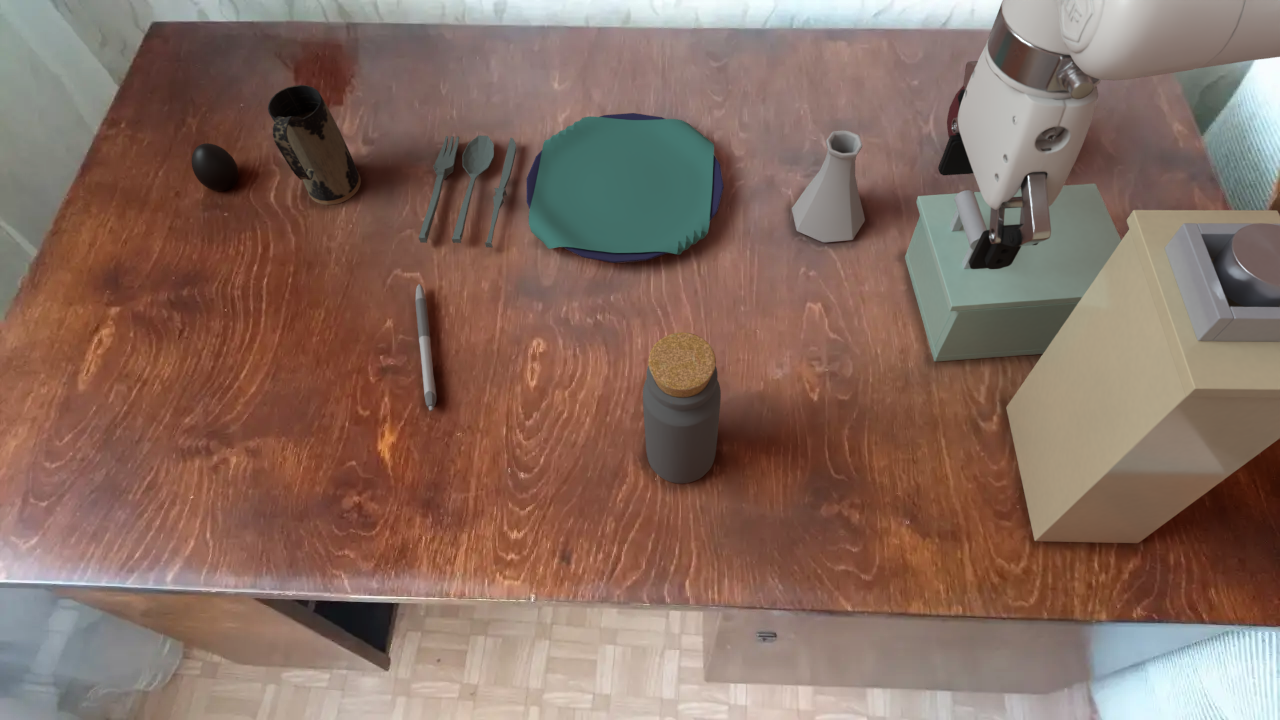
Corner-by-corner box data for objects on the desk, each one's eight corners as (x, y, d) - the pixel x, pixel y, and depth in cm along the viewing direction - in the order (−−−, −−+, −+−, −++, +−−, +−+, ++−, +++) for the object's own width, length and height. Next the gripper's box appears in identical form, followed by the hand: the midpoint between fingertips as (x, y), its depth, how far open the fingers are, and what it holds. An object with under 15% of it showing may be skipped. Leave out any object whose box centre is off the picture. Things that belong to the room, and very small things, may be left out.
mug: (314, 164, 92) (269, 73, 82) (365, 164, 92) (326, 73, 81) (297, 221, 88) (247, 133, 78) (350, 221, 88) (307, 133, 77)
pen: (428, 416, 76) (424, 409, 74) (416, 290, 83) (412, 281, 82) (439, 414, 76) (435, 406, 74) (426, 288, 83) (423, 279, 82)
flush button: (1279, 248, 49) (1303, 222, 47) (1308, 311, 47) (1334, 287, 45) (1200, 247, 50) (1221, 222, 48) (1224, 311, 47) (1247, 287, 45)
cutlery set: (718, 278, 82) (719, 263, 80) (411, 263, 84) (405, 248, 82) (726, 129, 92) (727, 113, 91) (452, 119, 95) (447, 102, 93)
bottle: (647, 420, 75) (641, 324, 62) (715, 422, 74) (723, 325, 61) (645, 483, 72) (638, 395, 59) (715, 485, 71) (724, 397, 58)
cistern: (1103, 405, 74) (1301, 183, 51) (1143, 547, 67) (1391, 368, 44) (1001, 403, 74) (1150, 183, 51) (1031, 545, 68) (1217, 366, 44)
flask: (785, 238, 85) (798, 165, 76) (796, 184, 88) (809, 108, 80) (860, 250, 83) (881, 178, 75) (868, 195, 87) (889, 120, 78)
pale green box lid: (949, 311, 70) (967, 274, 66) (915, 201, 76) (930, 161, 72) (1140, 298, 70) (1171, 259, 66) (1092, 189, 76) (1116, 147, 72)
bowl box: (933, 362, 77) (958, 311, 70) (904, 257, 83) (924, 201, 76) (1099, 350, 77) (1140, 298, 70) (1057, 246, 83) (1091, 189, 76)
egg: (201, 198, 90) (177, 163, 86) (207, 169, 92) (184, 134, 88) (240, 194, 90) (218, 159, 86) (246, 165, 92) (225, 130, 88)
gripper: (1162, 134, 50) (1051, 301, 65) (1068, -48, 59) (989, 135, 74) (1034, 143, 50) (952, 308, 65) (959, -41, 59) (902, 141, 74)
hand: (972, 216), depth 69 cm, fingers open, 9 cm apart
